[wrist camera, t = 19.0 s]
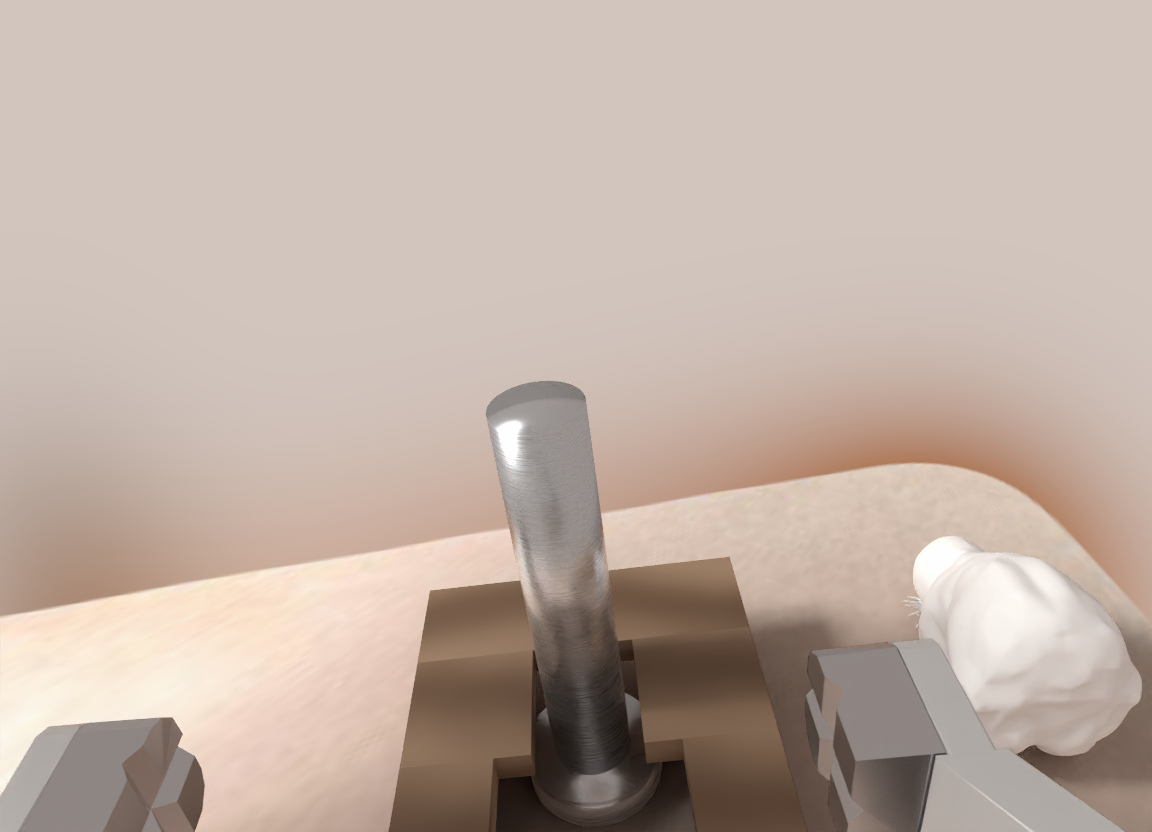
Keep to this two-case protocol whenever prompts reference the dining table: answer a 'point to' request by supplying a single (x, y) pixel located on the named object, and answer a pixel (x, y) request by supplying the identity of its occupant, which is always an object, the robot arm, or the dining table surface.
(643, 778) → the steel peg
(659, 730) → the keyhole board
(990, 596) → the white lumpy figurine
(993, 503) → the dining table surface
